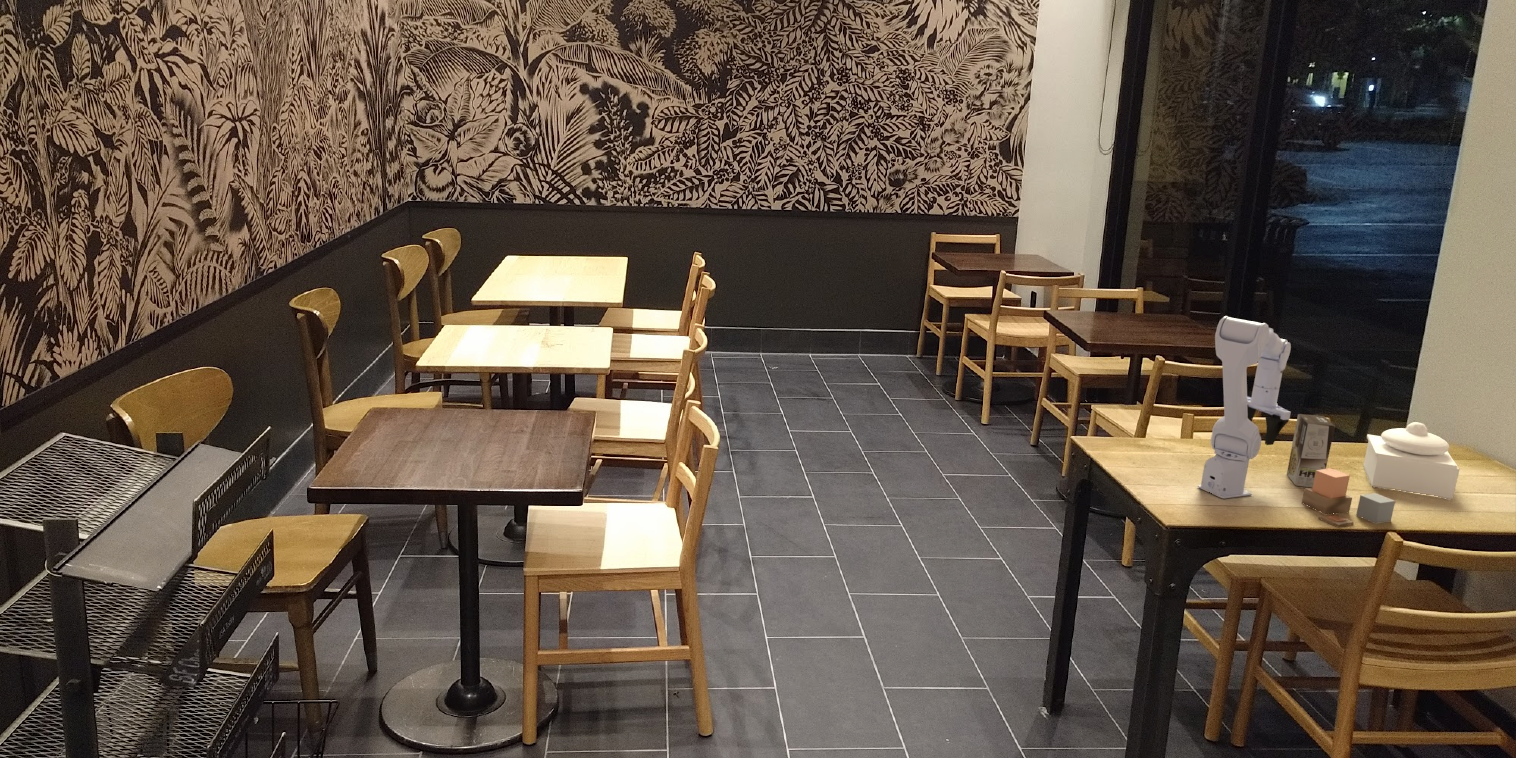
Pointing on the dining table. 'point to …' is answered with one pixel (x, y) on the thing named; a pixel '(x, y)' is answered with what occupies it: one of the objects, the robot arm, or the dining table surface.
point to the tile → (1336, 520)
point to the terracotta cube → (1330, 483)
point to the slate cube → (1375, 508)
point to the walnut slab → (1326, 502)
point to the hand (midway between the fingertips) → (1256, 439)
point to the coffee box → (1309, 448)
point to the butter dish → (1411, 462)
